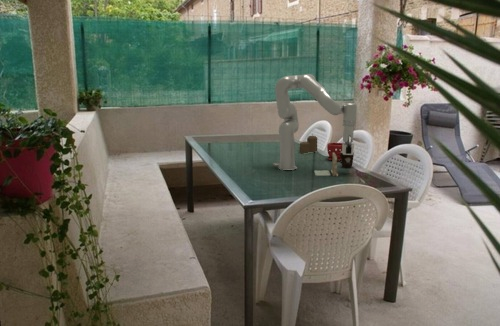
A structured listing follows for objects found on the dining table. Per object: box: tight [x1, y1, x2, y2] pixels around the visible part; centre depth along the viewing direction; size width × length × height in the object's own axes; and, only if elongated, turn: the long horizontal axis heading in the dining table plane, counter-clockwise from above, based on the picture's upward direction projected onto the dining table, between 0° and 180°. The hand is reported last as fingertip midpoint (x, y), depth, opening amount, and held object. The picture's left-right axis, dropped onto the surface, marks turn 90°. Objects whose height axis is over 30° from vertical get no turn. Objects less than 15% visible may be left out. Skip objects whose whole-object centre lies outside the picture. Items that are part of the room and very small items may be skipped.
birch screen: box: [330, 153, 339, 177], centre depth 263 cm, size 3×13×12 cm, turn 176°
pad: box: [313, 170, 331, 177], centre depth 264 cm, size 9×11×1 cm
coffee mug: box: [336, 151, 355, 169], centre depth 280 cm, size 12×9×10 cm
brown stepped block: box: [299, 133, 318, 153], centre depth 331 cm, size 14×14×15 cm
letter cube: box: [341, 142, 355, 155], centre depth 260 cm, size 7×6×6 cm
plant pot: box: [326, 142, 343, 162], centre depth 301 cm, size 13×13×12 cm
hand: (347, 152), depth 261 cm, fingers closed on letter cube, 6 cm apart
